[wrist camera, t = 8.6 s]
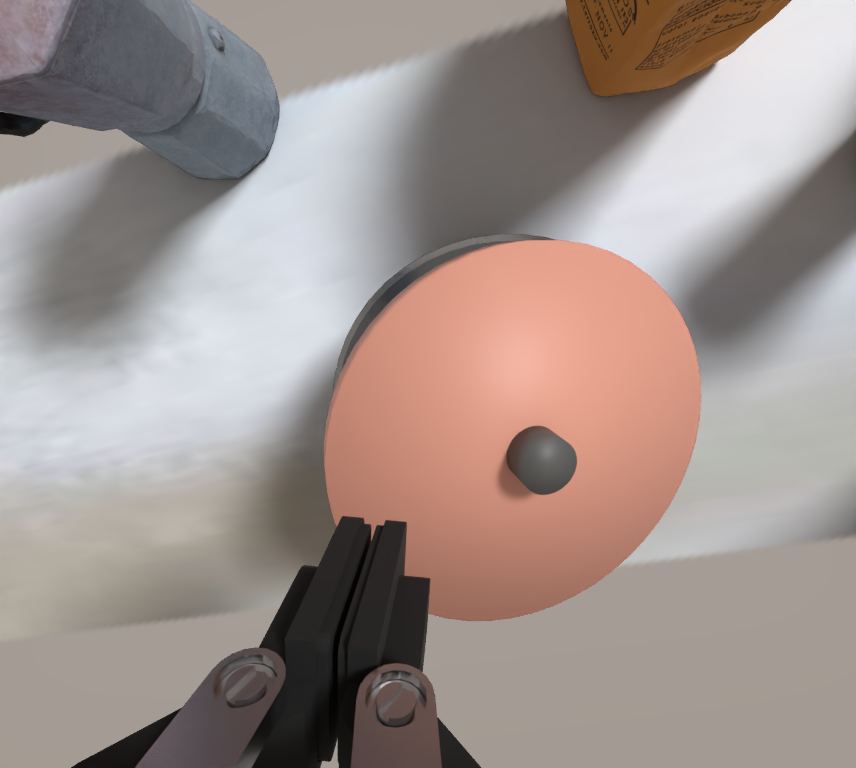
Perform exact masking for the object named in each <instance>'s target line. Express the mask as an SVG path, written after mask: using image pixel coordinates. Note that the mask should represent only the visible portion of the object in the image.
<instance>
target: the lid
mask: <svg viewBox="0 0 856 768" xmlns="http://www.w3.org/2000/svg"><path fill="white" fill-rule="evenodd" d="M700 407H701V383H700V371H699V366H698V360H697V355H696V351H695V348H694V344H693V341H692V338H691V335H690V332H689V330H688V328H687V326H686V324H685V322H684V320H683V318H682V316H681V314H680V312H679V310H678V309H677V307H676V306H675V304H674V303H673V302H672V300H671V299H670V297H669V296H668V294H667V293H666V292H665V291H664V290H663V289H662V288H661V287H660V286H659V285H658V284H657V283H656V282H655V281H654V280H653V279H652V278H651V277H650V276H649V275H648V274H646V273H645V272H644V271H642V270H641V269H640V268H638V267H637V266H636V265H634V264H633V263H631V262H630V261H628V260H626V259H624V258H622V257H620V256H618V255H616V254H614V253H612V252H610V251H607V250H603V249H600V248H597V247H594V246H591V245H588V244H583V243H576V242H569V241H562V240H518V241H512V242H505V243H499V244H493V245H489V246H486V247H482V248H479V249H476V250H473V251H469V252H466V253H463V254H461V255H459V256H457V257H455V258H453V259H451V260H449V261H446V262H444V263H442V264H440V265H438V266H436V267H435V268H433V269H432V270H430V271H429V272H427V273H426V274H424V275H423V276H421V277H419V278H418V279H416V280H415V281H413V282H412V283H411V284H410V285H409V286H407V287H406V288H405V289H404V290H403V291H402V292H400V293H399V294H398V295H397V296H396V297H394V298H393V299H392V300H391V301H390V302H389V303H388V304H387V305H386V306H385V308H384V309H383V310H382V311H381V312H380V313H379V314H378V315H377V316H376V317H375V319H374V320H373V321H372V322H371V323H370V324H369V326H368V327H367V329H366V330H365V332H364V333H363V335H362V336H361V337H360V339H359V340H358V342H357V343H356V345H355V346H354V348H353V350H352V351H351V353H350V355H349V357H348V359H347V361H346V363H345V365H344V367H343V369H342V371H341V373H340V375H339V378H338V381H337V384H336V387H335V389H334V392H333V395H332V398H331V401H330V406H329V410H328V415H327V420H326V425H325V435H324V450H323V456H324V469H325V480H326V487H327V494H328V498H329V503H330V507H331V511H332V515H333V519H334V522H335V524H336V527H337V526H338V523H339V521H340V519H341V517H342V516H350V517H360V518H364V523H365V524H371V541H372V538H373V535H374V532H375V529H376V526H377V525H384V523H385V520H392V521H403V522H407V533H406V553H405V574H404V575H405V576H414V577H424V578H430V595H429V609H428V614H432V615H436V616H439V617H443V618H448V619H456V620H464V621H492V620H501V619H508V618H515V617H519V616H523V615H527V614H532V613H534V612H538V611H540V610H543V609H546V608H549V607H552V606H554V605H557V604H559V603H561V602H563V601H565V600H567V599H569V598H572V597H574V596H575V595H577V594H579V593H580V592H582V591H584V590H586V589H587V588H589V587H590V586H592V585H594V584H595V583H597V582H598V581H599V580H601V579H602V578H603V577H605V576H606V575H608V574H609V573H610V572H612V571H613V570H614V569H615V568H616V567H617V566H619V565H620V564H621V563H622V562H623V561H624V560H625V559H627V558H628V557H629V556H630V555H631V554H632V553H633V551H634V550H635V549H636V548H637V547H638V546H639V545H640V544H641V543H642V542H643V541H644V540H645V539H646V537H647V536H648V535H649V533H650V532H651V531H652V530H653V528H654V527H655V526H656V525H657V523H658V522H659V520H660V519H661V517H662V516H663V514H664V513H665V511H666V510H667V508H668V507H669V505H670V503H671V502H672V500H673V498H674V496H675V494H676V492H677V490H678V488H679V486H680V484H681V482H682V480H683V477H684V475H685V472H686V470H687V467H688V465H689V462H690V459H691V455H692V452H693V449H694V445H695V442H696V437H697V431H698V426H699V420H700Z"/></svg>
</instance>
